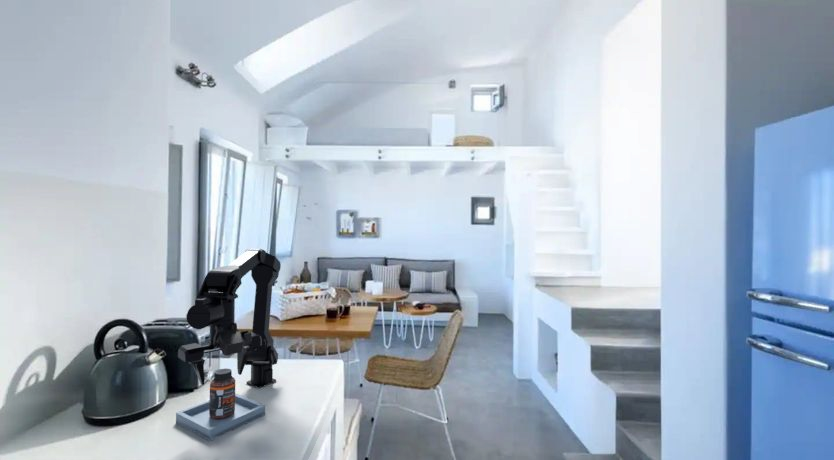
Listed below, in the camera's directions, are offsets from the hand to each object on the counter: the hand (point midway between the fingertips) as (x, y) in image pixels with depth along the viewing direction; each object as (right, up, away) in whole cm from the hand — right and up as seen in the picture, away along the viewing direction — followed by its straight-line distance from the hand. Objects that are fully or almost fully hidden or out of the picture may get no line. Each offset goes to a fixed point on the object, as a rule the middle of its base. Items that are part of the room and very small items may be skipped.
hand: (221, 379), depth 101 cm
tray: (0, -10, 0) cm, 10 cm away
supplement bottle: (0, -9, 0) cm, 10 cm away
